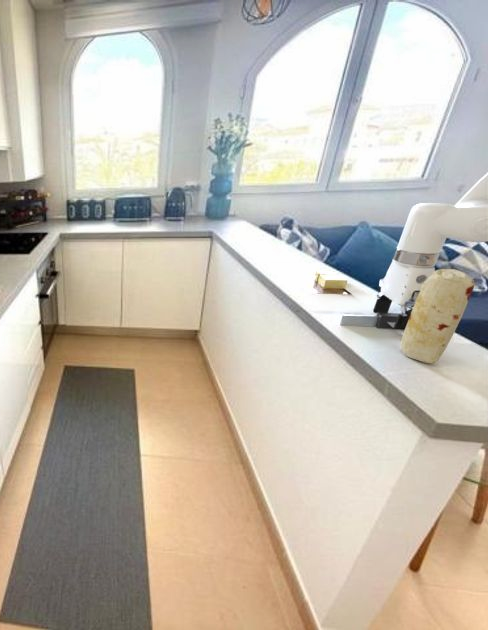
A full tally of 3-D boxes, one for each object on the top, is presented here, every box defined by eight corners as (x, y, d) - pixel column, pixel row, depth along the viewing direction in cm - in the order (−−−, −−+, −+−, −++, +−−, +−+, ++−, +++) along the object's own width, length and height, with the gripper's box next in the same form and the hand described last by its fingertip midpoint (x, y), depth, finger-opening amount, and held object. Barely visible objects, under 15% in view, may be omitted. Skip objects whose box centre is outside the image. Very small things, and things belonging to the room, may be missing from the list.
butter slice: (334, 280, 117) (336, 271, 116) (336, 282, 116) (339, 273, 114) (314, 279, 119) (316, 271, 118) (316, 281, 117) (318, 273, 116)
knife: (342, 326, 92) (345, 314, 90) (338, 322, 94) (342, 311, 92) (405, 329, 89) (410, 317, 87) (400, 325, 90) (404, 313, 89)
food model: (449, 369, 73) (493, 281, 65) (410, 365, 75) (447, 279, 67) (423, 345, 81) (459, 265, 73) (388, 343, 84) (419, 264, 75)
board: (335, 281, 120) (336, 276, 120) (357, 298, 106) (359, 294, 106) (290, 280, 124) (291, 276, 123) (306, 297, 110) (307, 293, 109)
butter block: (338, 283, 115) (340, 274, 113) (345, 288, 110) (347, 280, 109) (317, 282, 116) (319, 274, 115) (323, 288, 112) (326, 279, 110)
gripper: (461, 269, 74) (429, 338, 81) (411, 247, 89) (388, 307, 96) (419, 268, 76) (392, 335, 83) (377, 247, 90) (357, 306, 98)
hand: (390, 320), depth 90 cm, fingers open, 9 cm apart
